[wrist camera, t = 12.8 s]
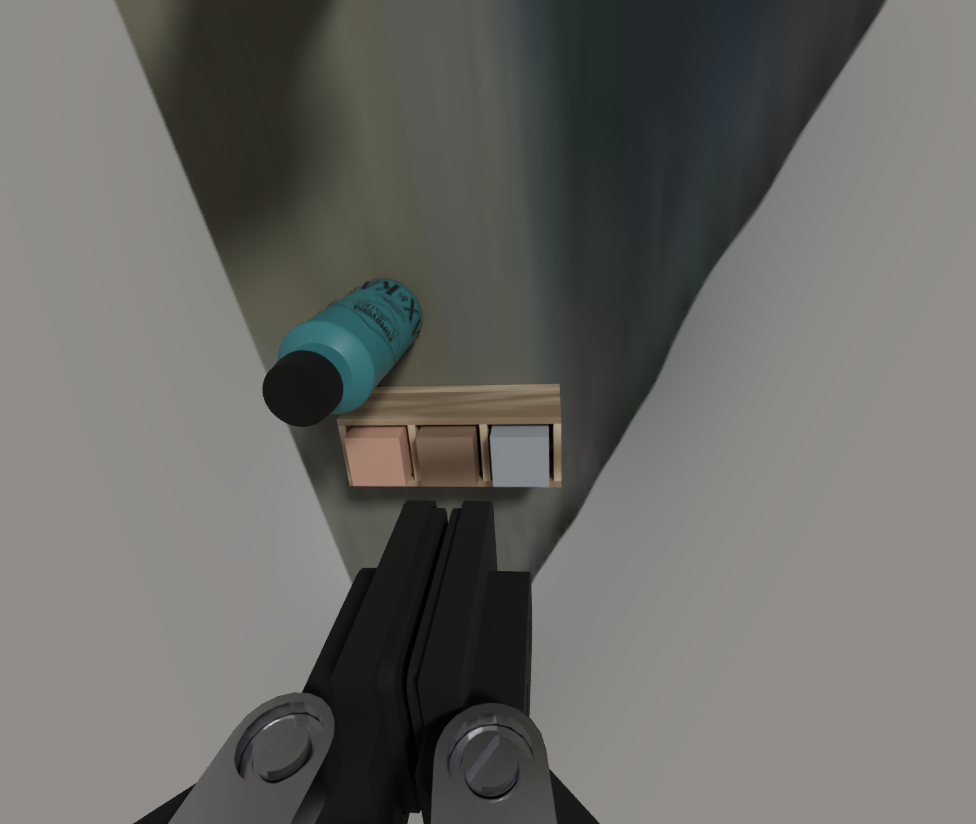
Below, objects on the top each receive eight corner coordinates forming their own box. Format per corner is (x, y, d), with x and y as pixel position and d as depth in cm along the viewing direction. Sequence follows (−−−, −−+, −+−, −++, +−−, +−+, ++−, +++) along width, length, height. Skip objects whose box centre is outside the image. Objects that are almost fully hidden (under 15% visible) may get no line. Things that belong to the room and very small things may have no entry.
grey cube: (495, 410, 46) (489, 437, 42) (548, 410, 46) (548, 437, 41) (498, 456, 48) (493, 486, 44) (549, 456, 47) (549, 487, 43)
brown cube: (428, 411, 47) (415, 437, 42) (479, 410, 46) (472, 437, 42) (433, 456, 49) (422, 486, 44) (483, 456, 48) (476, 486, 44)
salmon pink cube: (363, 412, 48) (343, 438, 43) (412, 411, 47) (398, 437, 42) (371, 456, 49) (353, 486, 45) (418, 456, 49) (405, 486, 44)
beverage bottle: (411, 357, 49) (330, 470, 31) (345, 322, 48) (223, 418, 30) (440, 295, 46) (371, 379, 28) (371, 257, 45) (254, 319, 27)
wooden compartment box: (363, 387, 50) (336, 419, 44) (559, 384, 48) (561, 417, 42) (373, 448, 53) (349, 486, 47) (559, 447, 51) (561, 487, 45)
